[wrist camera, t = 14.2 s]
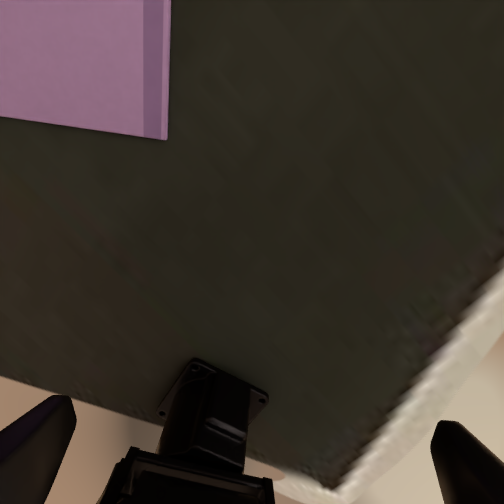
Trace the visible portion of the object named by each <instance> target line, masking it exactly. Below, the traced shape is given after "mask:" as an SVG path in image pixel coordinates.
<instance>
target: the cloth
mask: <svg viewBox="0 0 504 504" xmlns="http://www.w3.org/2000/svg"><path fill="white" fill-rule="evenodd" d="M170 24H171V0H0V116H3V117H9V118H16V119H23V120H30V121H37V122H44V123H51V124H57V125H64V126H71V127H78V128H85V129H92V130H98V131H105V132H112V133H119V134H126V135H133V136H140V137H146V138H153V139H160V140H167V138H168V100H169V62H170Z"/></svg>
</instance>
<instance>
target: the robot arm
mask: <svg viewBox="0 0 504 504" xmlns="http://www.w3.org/2000/svg"><path fill="white" fill-rule="evenodd" d="M194 365H197V367H196V366H194ZM260 398H263V399H260ZM268 402H269V395H268V394H267V393H266V392H264V391H262V390H260V389H258V388H256V387H254V386H252V385H250V384H248V383H246V382H244V381H242V380H240V379H238V378H236V377H234V376H232V375H230V374H228V373H226V372H224V371H222V370H220V369H218V368H216V367H214V366H212V365H210V364H208V363H206V362H204V361H202V360H200V359H197V358H194V359H191V360H190V362H189V363H188V364H187V366H186V367H185V369H184V370H183V372H182V373H181V374H180V376H179V377H178V379H177V380H176V382H175V383H174V385H173V386H172V387H171V389H170V390H169V392H168V393H167V395H166V396H165V397H164V399H163V400H162V402H161V403H160V405H159V406H158V408H157V411H156V414H157V416H159V417H160V418H162V419H165V420H166V422H165V425H164V428H163V431H162V435H161V437H160V440H159V443H158V447H157V449H156V452H155V454H154V453H150V452H146V451H142V450H140V448H137V447H132V446H131V447H130V449H129V451H128V453H127V455H126V457H125V458H122V459H121V461H120V462H119V463H116V465H115V467H114V469H113V472H112V474H111V476H110V479H109V481H108V483H107V485H106V487H105V490H104V491H103V493H102V495H101V497H100V498H99V500H98V501H97V503H96V504H275V499H274V490H273V481H272V479H269V478H265V477H263V478H258V477H253V476H249V475H245V474H244V464H245V453H246V441H247V433H248V425H249V424H250V423H251V422H252V420H253V419H254V418H255V417H256V416H257V415H258V414H259V413H260V412H261V410H262V409H263V408H264V407H265V406H266V405H267V404H268ZM76 422H77V419H76V414H75V411H74V407H73V404H72V400H71V398H70V397H69V396H66V395H52V396H50V397H48V398H47V399H46V400H44V401H43V402H41V403H40V404H38V405H37V406H35V407H34V408H33V409H31V410H30V411H28V412H27V413H26V414H24V415H23V416H21V417H20V418H18V419H17V420H16V421H14V422H13V423H11V424H10V425H9V426H7V427H6V428H4V429H3V430H1V431H0V504H44V502H45V500H46V498H47V496H48V494H49V492H50V490H51V487H52V485H53V483H54V480H55V477H56V475H57V473H58V470H59V468H60V465H61V463H62V460H63V457H64V455H65V453H66V450H67V447H68V445H69V443H70V440H71V438H72V435H73V433H74V430H75V427H76ZM430 449H431V454H432V459H433V462H434V466H435V470H436V473H437V477H438V481H439V485H440V488H441V492H442V496H443V500H444V504H504V463H503V462H502V461H501V460H500V459H499V458H498V457H497V456H496V455H495V454H493V453H492V452H491V451H490V450H489V449H488V448H487V447H486V446H485V445H483V444H482V443H481V442H480V441H479V440H478V439H477V438H476V437H475V436H474V435H473V434H472V433H470V432H469V431H468V430H467V429H466V428H465V427H464V426H463V425H462V424H460V423H459V422H456V421H446V420H441V421H439V422H438V424H437V426H436V429H435V432H434V435H433V438H432V441H431V446H430Z"/></svg>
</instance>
